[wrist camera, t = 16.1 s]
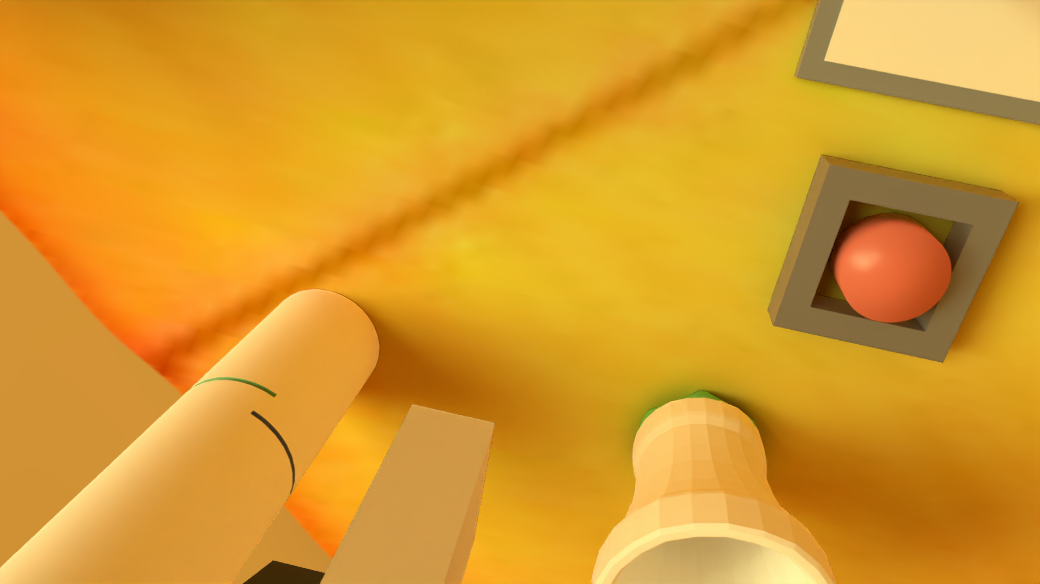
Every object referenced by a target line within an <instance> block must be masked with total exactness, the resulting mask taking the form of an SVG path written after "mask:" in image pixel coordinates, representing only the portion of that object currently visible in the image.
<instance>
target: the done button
mask: <svg viewBox="0 0 1040 584" xmlns="http://www.w3.org/2000/svg"><path fill="white" fill-rule="evenodd" d="M831 268H832V273H833V276H834V278H835V280H836V282H837V284H838V286H839V287H840V289H841V291H842V293H843V294H844V296H845V298H846V300H847V301H848V303H849V304H850V306H851V307H852V308H853V309H854V310H855V311H857V312H858V313H859V314H861V315H862V316H864V317H866V318H869V319H871V320H875V321H879V322H889V323H892V322H901V321H906V320H909V319H912V318H915V317H917V316H919V315H921V314H923V313H925V312H926V311H928V310H929V309H931V308H932V307H933V306H934V305H935V304H936V303H937V302H938V301H939V300H940V299H941V297H942V296H943V295H944V293H945V291H946V289H947V287H948V285H949V282H950V278H951V262H950V258H949V256H948V253H947V251H946V250H945V248H944V247H943V246H942V244H941V243H940V242H939V241H938V240H937V239H936V238H935V237H934V236H933V235H932V234H931V233H930V232H929V231H928V230H927V229H926V228H925V227H924V226H923V225H921V224H920V223H919V222H918V221H916V220H914V219H913V218H911V217H908V216H906V215H902V214H897V213H880V214H875V215H871V216H868V217H865V218H863V219H861V220H859V221H857V222H856V223H854V224H853V225H851V226H850V227H849V228H848V229H847V230H846V231H845V232H844V233H843V234H842V235H841V236H840V238H839V239H838V241H837V243H836V245H835V247H834V249H833V253H832V258H831Z"/></svg>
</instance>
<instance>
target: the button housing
mask: <svg viewBox="0 0 1040 584" xmlns="http://www.w3.org/2000/svg"><path fill="white" fill-rule="evenodd" d="M850 200H853V201H858V202H863V203H868V204H873V205H878V206H883V207H888V208H893V209H897V210H902V211H907V212H912V213H917V214H922V215H927V216H932V217H936V218H941V219H946V220H951V221H955V222H954V224H953V226H952V228H951V231H950V233H949V235H948V238H947V240H946V242H945V244H944V248H945V250H946V251H947V253H948V256H949V258H950V262H951V278H950V282H949V285H948V287H947V289H946V291H945V293H944V295H943V296H942V297H941V299H940V300H939V301H938V302H937V303H936V304H935V305H934V306H933V307H932V308H931V309H929V310H928V311H926V312H925V313H923V314H921V315H919V316H917V317H915V318H912V319H909V320H906V321H901V322H892V323H889V322H879V321H875V320H871V319H869V318H866V317H864V316H862V315H861V314H859V313H858V312H857V311H855V310H854V309H853V308H852V307H851V306H850V304H849V303H848V301H844V300H839V299H835V298H830V297H825V296H821V295H816V294H815V292H816V290H817V287H818V284H819V282H820V279H821V276H822V274H823V271H824V268H825V266H826V263H827V260H828V258H829V255H830V252H831V250H832V247H833V244H834V242H835V239H836V236H837V233H838V231H839V228H840V225H841V223H842V220H843V217H844V215H845V212H846V209H847V207H848V204H849V201H850ZM1018 203H1019V202H1017V201H1016V200H1014V199H1013V198H1011V197H1010V196H1008V195H1007V194H1005V193H1004V192H1002V191H1000V190H995V189H990V188H985V187H980V186H975V185H970V184H965V183H960V182H955V181H950V180H945V179H940V178H935V177H930V176H925V175H920V174H915V173H910V172H905V171H900V170H895V169H890V168H885V167H880V166H875V165H870V164H866V163H861V162H856V161H851V160H846V159H841V158H836V157H831V156H826V155H821V157H820V160H819V163H818V166H817V169H816V172H815V175H814V177H813V180H812V183H811V186H810V189H809V192H808V195H807V198H806V201H805V203H804V206H803V209H802V212H801V215H800V218H799V221H798V224H797V227H796V229H795V232H794V235H793V238H792V241H791V244H790V247H789V250H788V252H787V255H786V258H785V261H784V264H783V267H782V270H781V273H780V276H779V278H778V281H777V284H776V287H775V290H774V293H773V296H772V299H771V302H770V304H769V307H768V312H769V315H770V318H771V321H772V324H773V326H777V327H782V328H786V329H791V330H796V331H800V332H805V333H809V334H814V335H818V336H823V337H828V338H832V339H837V340H841V341H846V342H851V343H855V344H860V345H864V346H869V347H873V348H878V349H883V350H887V351H892V352H896V353H901V354H905V355H910V356H915V357H919V358H924V359H928V360H933V361H938V362H942V363H943V361H944V359H945V357H946V355H947V353H948V351H949V349H950V347H951V344H952V342H953V340H954V338H955V336H956V334H957V332H958V330H959V328H960V325H961V323H962V321H963V319H964V317H965V315H966V313H967V311H968V309H969V307H970V304H971V302H972V300H973V298H974V296H975V294H976V292H977V290H978V288H979V286H980V283H981V281H982V279H983V277H984V275H985V273H986V271H987V269H988V267H989V264H990V262H991V260H992V258H993V256H994V254H995V252H996V250H997V248H998V246H999V243H1000V241H1001V239H1002V237H1003V235H1004V233H1005V231H1006V229H1007V227H1008V224H1009V222H1010V220H1011V218H1012V216H1013V214H1014V212H1015V210H1016V208H1017V206H1018Z"/></svg>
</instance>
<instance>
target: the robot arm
mask: <svg viewBox="0 0 1040 584" xmlns="http://www.w3.org/2000/svg"><path fill="white" fill-rule="evenodd" d="M494 426H495V423H494V422H490V421H486V420H481V419H477V418H472V417H468V416H463V415H459V414H455V413H450V412H446V411H441V410H437V409H433V408H428V407H424V406H419V405H415V404H412V406H411V407H410V409H409V411H408V413H407V415H406V417H405V419H404V421H403V423H402V425H401V427H400V429H399V431H398V433H397V435H396V437H395V439H394V441H393V442H392V444H391V446H390V448H389V450H388V452H387V454H386V456H385V458H384V460H383V462H382V464H381V466H380V468H379V470H378V472H377V474H376V476H375V477H374V479H373V481H372V483H371V485H370V487H369V489H368V491H367V493H366V495H365V497H364V499H363V501H362V503H361V505H360V507H359V509H358V511H357V513H356V514H355V516H354V518H353V520H352V522H351V524H350V526H349V528H348V530H347V532H346V534H345V536H344V538H343V540H342V542H341V544H340V546H339V548H338V549H337V551H336V553H335V555H334V557H333V559H332V561H331V563H330V565H329V567H328V569H327V571H326V573H322V572H318V571H314V570H310V569H306V568H302V567H298V566H294V565H290V564H285V563H281V562H277V561H272V562H271V563H269V564H268V565H267V566H265V567H264V568H263V569H261V570H260V571H259V572H258V573H256V574H255V575H254V576H252V577H251V578H250V579H248V580H247V581H246V582H245V583H243V584H461V583H462V580H463V576H464V573H465V569H466V566H467V562H468V559H469V555H470V552H471V549H472V545H473V542H474V537H475V532H476V526H477V521H478V515H479V510H480V504H481V498H482V493H483V487H484V482H485V476H486V471H487V465H488V459H489V454H490V448H491V443H492V437H493V432H494Z"/></svg>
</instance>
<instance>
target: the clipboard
mask: <svg viewBox="0 0 1040 584" xmlns="http://www.w3.org/2000/svg"><path fill="white" fill-rule="evenodd" d="M794 76H795V77H797V78H802V79H807V80H812V81H817V82H822V83H828V84H833V85H838V86H843V87H848V88H853V89H858V90H864V91H869V92H874V93H879V94H884V95H889V96H894V97H900V98H905V99H910V100H915V101H920V102H925V103H931V104H936V105H941V106H946V107H951V108H956V109H961V110H967V111H972V112H977V113H982V114H987V115H992V116H997V117H1003V118H1008V119H1013V120H1018V121H1023V122H1028V123H1033V124H1039V125H1040V0H818V2H817V6H816V9H815V12H814V15H813V18H812V21H811V25H810V28H809V31H808V34H807V37H806V40H805V44H804V47H803V50H802V53H801V56H800V59H799V63H798V66H797V69H796V72H795V75H794Z"/></svg>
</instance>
